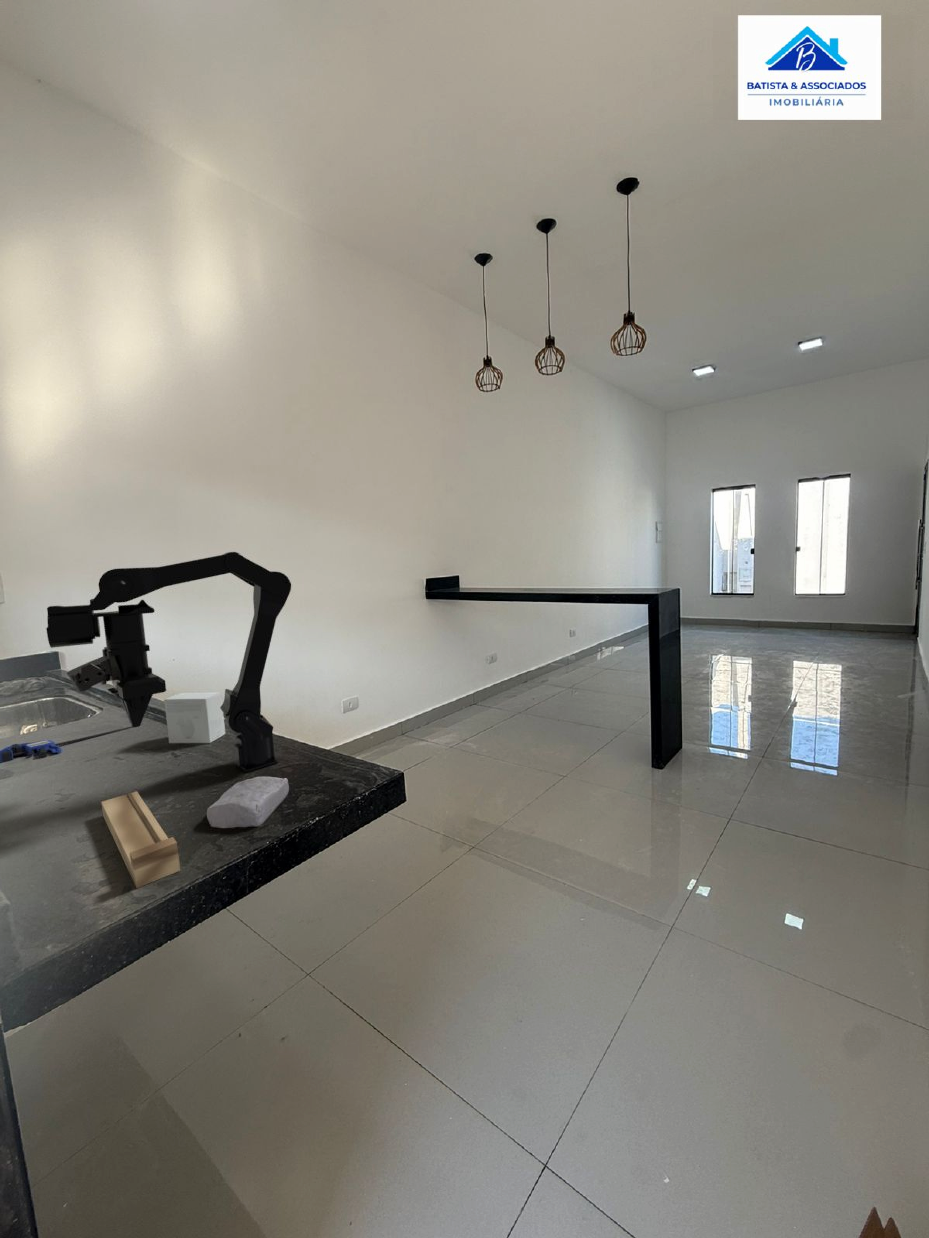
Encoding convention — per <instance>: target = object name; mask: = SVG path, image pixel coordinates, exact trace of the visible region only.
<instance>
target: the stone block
mask: <svg viewBox="0 0 929 1238" xmlns="http://www.w3.org/2000/svg"><path fill="white" fill-rule="evenodd" d="M289 791H290V787H289V780H288V778H286V777H284V778H282V777H281V778H280V777H273V776H255V777H253V778H248V779H244V780H241V781H239V782H237V783H234V784H233V786H231V787H230V788H228V789H227V790H226V791H225V792H224V793H223V794H221V796H220V797H219V799H218V800H217V801H215V802H214V803H213V804H211V805H210V806H209V807H207V809H206V818H207V821H208V823H209V825H210V827H213V828H219V829H229V828H230V829H231V828H236V827H237V828H249V827H254V828H256V827H260V826H261V825H262V824H264V822H266V820H267V819H268V818H269V817H270V816H271V815H272V814H273V812H274V811H275V810H276V809H277V808H278V807H279V805H280V804H281V803H282V802H283V801H284V800H285V799H286V798H287V797H288V794H289Z"/></svg>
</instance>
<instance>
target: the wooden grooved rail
mask: <svg viewBox="0 0 929 1238" xmlns="http://www.w3.org/2000/svg"><path fill="white" fill-rule="evenodd" d="M100 804H101V809H102V816H103V818H104V821H105V823H106V825H107V827H108V831H110V834H111V837H113V840H114V843H115V844H116V846H117V849H118V851H119V853H120V855H121V858H122V859H123V861H124V864H125V866H126V868H127V871H128V872H129V875H130V877H131V879H132V881H133V883H134V886H135V887H136V889H139V888H141V887H143V886H147V885H148V884H151V883H154V882H155V881H158V880H160V879H163V878H165V877H168V876H170V875H173V874H175V873H177V872H180V871H181V865H180V864H181V863H180V857H179V849H178V842H177V841H176V839H175V838H174V836H171V837H168V836H167V833H165V831H164V830H163V828H162V827H161V825H160V824H159V822H158V820H157V819H156V818H155V816H154V815H153V813H152V811H151V810H150V808H149V807H148V806H147V804H146V803H145V801H144V800H143V798H142V797H141V795H140V794H139V792H138V791H132V792H129V793H127V794H123V795H119V796H116V797H113V798H108V799H106V800H103V801H101V803H100Z"/></svg>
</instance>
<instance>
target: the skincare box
mask: <svg viewBox="0 0 929 1238" xmlns="http://www.w3.org/2000/svg"><path fill="white" fill-rule="evenodd" d="M222 698H223V697H222V692H180V693H178V694H175V695H172V696H168V697H167V698H164V699H163V701H164V711H165V717H166V718H165V719H166V727H167V734H168V735H167V736H168V744H211V743H213V742H214V741H216V740H218V739H219V738H221V737H223V736H225V735H226V725H225V718H224V716H223V711H222V710H221V708H220V707H221V706H222V704H223V699H222Z"/></svg>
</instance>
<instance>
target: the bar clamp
mask: <svg viewBox="0 0 929 1238" xmlns="http://www.w3.org/2000/svg"><path fill="white" fill-rule="evenodd" d="M133 728H134V727H132V726H129V727H128V726H127V727H123V728H119V729H114V730H111V731H110V730H109V731H106V732H102V733H98V734H93V735H89V736H84V737H80V738H76V739H72V740H67V741H62V742H57V743H55V741H53V740H49V739H45V740H39V741H33V742H26V743H25V742H24V743H14V744H12V745H10V746H7V747H5V748H3V749H1V750H0V763H1V764H3V763H8V762H11V761H13V760H14V757H15V756H16V757H22V756H23V754H25V755H27V756H28V757H32V756H36V755H38V758H39V759H42V758H47V757H48V756H49V753H48V752H50V751H51V753H52V754H55V753H57V754H58V755H60V754H61V753H62V748H61V747H60V746H61V745H62V746H63V745H66V744H71V743H75V742H79V741H83V740H87V739H93V738H96V737H101V736H105V735H110V734H113V733H116V732H117V733H118V732H122V731H124V730H129V729H133Z"/></svg>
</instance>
